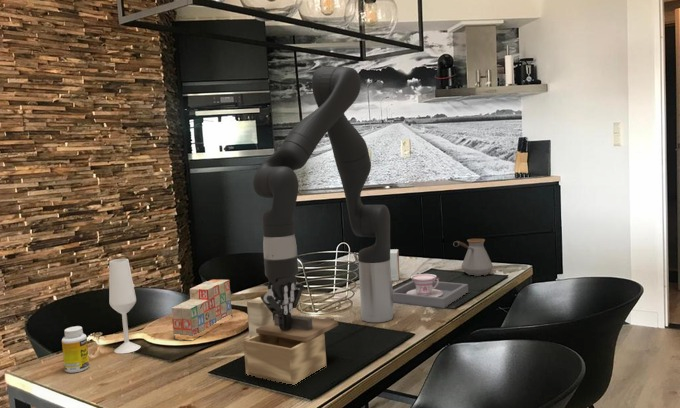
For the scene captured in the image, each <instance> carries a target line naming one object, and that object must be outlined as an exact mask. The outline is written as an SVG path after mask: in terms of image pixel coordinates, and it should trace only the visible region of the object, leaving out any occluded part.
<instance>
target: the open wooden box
mask: <svg viewBox="0 0 680 408" xmlns="http://www.w3.org/2000/svg"><path fill="white" fill-rule="evenodd" d="M243 353H244V363H245V364H244V366H245V375H246V374H247V375H246V376H249V375H251V376H250V377H253V376H255V377H254V378H259V379H262V378H263V379H262V380H266V379H267V381H270V380H271V382H275V381H276V382H275V383H279V382H282V383H281V384H283V383H286V384H285V385H287V384H292V385H295V384H297V383H298V382H300V381H301V380H303V379H305V378H306V377H308V376H310V375H311V374H313V373H315V372H316V371H318V370H320V369H321V368H323V367H325V366H326V367H327V354H326V339H325V333H323V334H321V335H319V336H317V337H315V338H313V339H311V340H309V341H307V342H303V341H298V340H292V339H287V338H281V337H275V336H270V335H264V334H257V335H255V336H253V337H251V338H250V337H249V338H246V339H244V340H243ZM326 367H325V368H326ZM320 371H321V370H320ZM315 374H316V373H315ZM310 377H311V376H310ZM305 380H306V379H305ZM300 383H301V382H300ZM292 385H291V386H292ZM297 385H298V384H297ZM295 386H296V385H295Z"/></svg>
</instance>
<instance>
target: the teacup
mask: <svg viewBox="0 0 680 408" xmlns="http://www.w3.org/2000/svg"><path fill="white" fill-rule="evenodd" d="M410 279H411V281H412V280H413V281H414V283H415V285H416V289H415V290H411V291H408V292H407V293H406V294H413V295H422V296H432V297H440V296H442V295H443V292H442V291H440V290H437V289H434V288H436V286H437V285H438V282H440V277H437V275H436V274H431V273H418V274H413V275H411V276H410ZM433 281H437V284H436V285H435V286H434V287H433V286H432V284H433ZM432 288H433V289H432Z"/></svg>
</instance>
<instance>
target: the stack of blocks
mask: <svg viewBox="0 0 680 408" xmlns="http://www.w3.org/2000/svg"><path fill="white" fill-rule="evenodd" d="M230 282H231V281H230V279H210V280H208V281H207V280H206V281H204V282H202V283H200V284H198V285H195V286H193V287H191V288H189V299H187V300H185V301H183V302H181V303H180V304H177V305H175V306H173V307H171V314H172V315H171V316H172V321H171V322H172V332H173V335H174V334H180V335H189V336H193V335H195V334H197V333H200V332H202V331H204V330H205V329H207V328H209V327H210V326H211V325H213V324H214V323H216V322H217V321H219V320H221V319H222V318H224V317H226V316H228V315H230V314H232V315H233V309H232V295H231V294H232V293H231V285H230Z"/></svg>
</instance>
